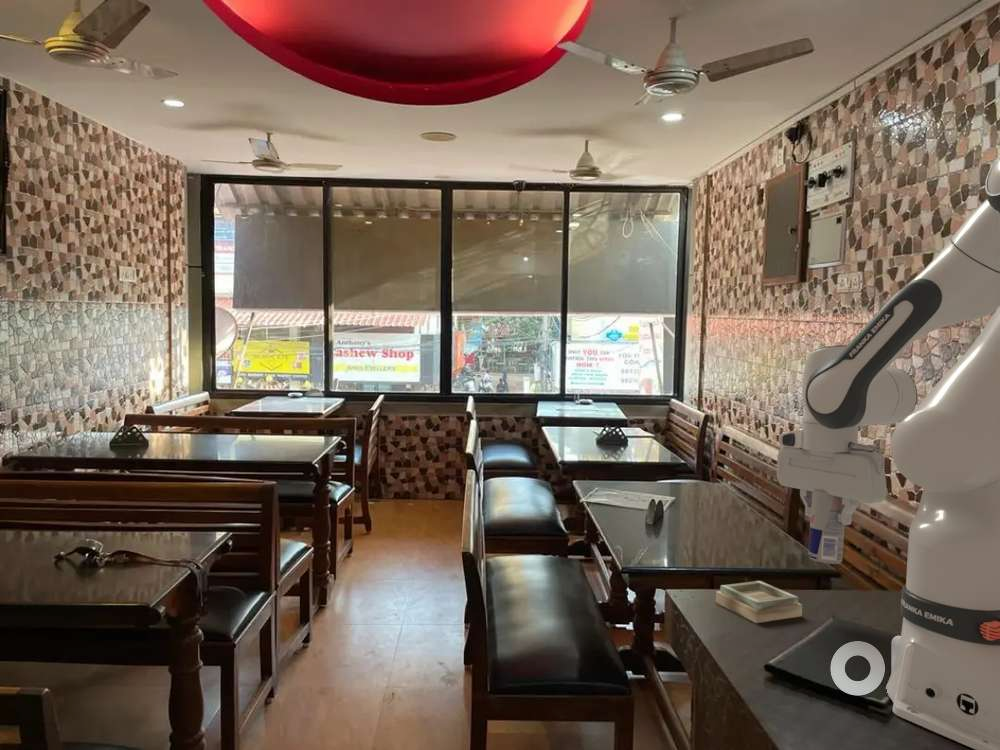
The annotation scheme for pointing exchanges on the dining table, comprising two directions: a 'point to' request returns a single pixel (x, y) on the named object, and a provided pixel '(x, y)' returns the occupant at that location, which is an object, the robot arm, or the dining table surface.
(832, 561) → the energy drink
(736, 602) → the plinth
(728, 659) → the dining table surface
